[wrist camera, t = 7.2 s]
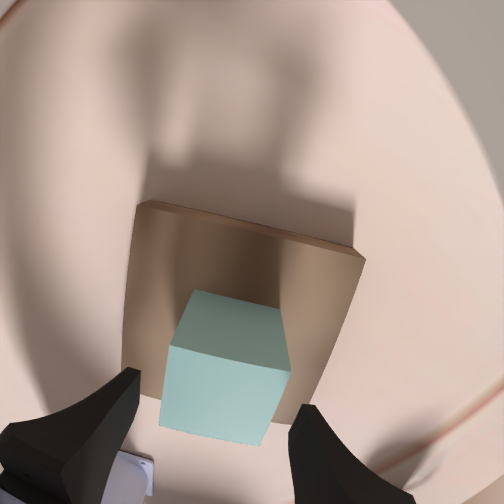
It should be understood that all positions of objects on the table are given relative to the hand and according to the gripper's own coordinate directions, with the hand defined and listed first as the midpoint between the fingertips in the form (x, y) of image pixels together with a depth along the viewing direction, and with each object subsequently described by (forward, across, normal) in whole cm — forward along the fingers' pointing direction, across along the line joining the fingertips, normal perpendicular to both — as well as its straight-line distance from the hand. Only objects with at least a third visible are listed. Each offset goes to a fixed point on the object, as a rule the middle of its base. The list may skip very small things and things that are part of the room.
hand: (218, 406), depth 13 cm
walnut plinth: (+9, 0, 0) cm, 9 cm away
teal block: (+6, 0, 0) cm, 6 cm away
